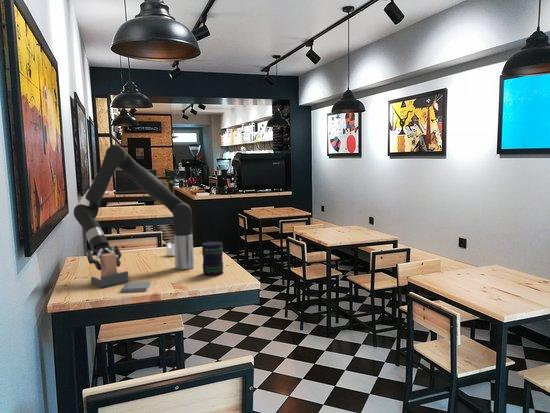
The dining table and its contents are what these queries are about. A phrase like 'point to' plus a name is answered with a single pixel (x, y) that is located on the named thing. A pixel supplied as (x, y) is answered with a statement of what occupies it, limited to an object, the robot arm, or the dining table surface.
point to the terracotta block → (108, 264)
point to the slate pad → (136, 286)
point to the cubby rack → (110, 280)
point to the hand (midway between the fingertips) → (109, 267)
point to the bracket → (170, 249)
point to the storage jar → (212, 258)
